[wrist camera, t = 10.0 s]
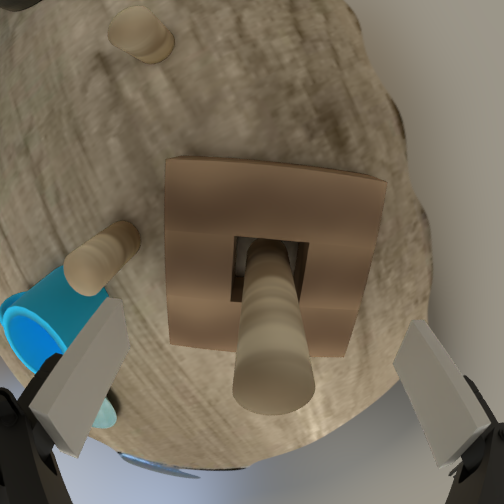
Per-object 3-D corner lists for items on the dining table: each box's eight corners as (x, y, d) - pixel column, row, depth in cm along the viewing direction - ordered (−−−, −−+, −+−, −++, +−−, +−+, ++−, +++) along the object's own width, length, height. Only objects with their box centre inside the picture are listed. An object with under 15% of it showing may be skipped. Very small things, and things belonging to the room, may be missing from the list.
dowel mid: (106, 219, 23) (60, 249, 16) (140, 221, 23) (99, 253, 16) (109, 254, 24) (67, 292, 17) (141, 258, 24) (105, 299, 17)
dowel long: (248, 234, 23) (235, 359, 10) (290, 238, 23) (323, 364, 10) (245, 272, 24) (230, 412, 11) (284, 276, 24) (305, 416, 11)
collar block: (181, 155, 21) (165, 159, 17) (366, 174, 21) (387, 182, 17) (181, 317, 26) (170, 344, 22) (334, 329, 26) (343, 357, 22)
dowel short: (139, 31, 17) (112, 10, 12) (177, 27, 17) (157, 2, 12) (133, 65, 18) (104, 50, 14) (172, 62, 18) (149, 44, 14)
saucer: (127, 386, 30) (121, 399, 28) (116, 428, 34) (111, 439, 32) (46, 341, 29) (37, 351, 27) (48, 390, 33) (42, 400, 31)
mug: (109, 271, 25) (63, 320, 17) (117, 341, 28) (84, 396, 20) (20, 252, 24) (-30, 286, 17) (33, 316, 27) (-5, 356, 20)
